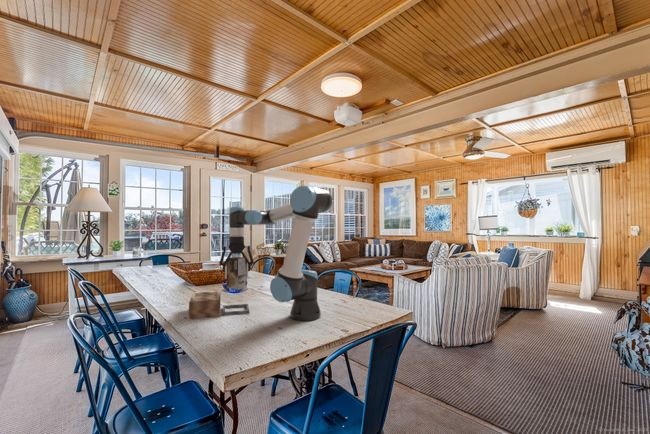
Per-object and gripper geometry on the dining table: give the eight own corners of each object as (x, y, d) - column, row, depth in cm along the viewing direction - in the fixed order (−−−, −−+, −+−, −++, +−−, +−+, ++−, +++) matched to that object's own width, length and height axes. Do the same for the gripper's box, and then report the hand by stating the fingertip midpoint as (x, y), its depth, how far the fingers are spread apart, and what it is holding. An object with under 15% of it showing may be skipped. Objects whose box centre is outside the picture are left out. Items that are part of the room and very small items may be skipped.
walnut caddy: (247, 305, 176) (247, 288, 176) (249, 314, 159) (249, 295, 159) (192, 309, 167) (193, 291, 168) (188, 319, 150) (189, 299, 150)
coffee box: (247, 287, 166) (247, 257, 166) (238, 290, 160) (238, 258, 161) (235, 286, 171) (235, 256, 171) (226, 288, 165) (226, 257, 166)
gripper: (257, 235, 173) (258, 275, 172) (214, 236, 166) (214, 278, 166) (259, 235, 166) (259, 277, 165) (213, 236, 159) (213, 280, 159)
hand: (236, 277), depth 166 cm, fingers closed on coffee box, 10 cm apart
